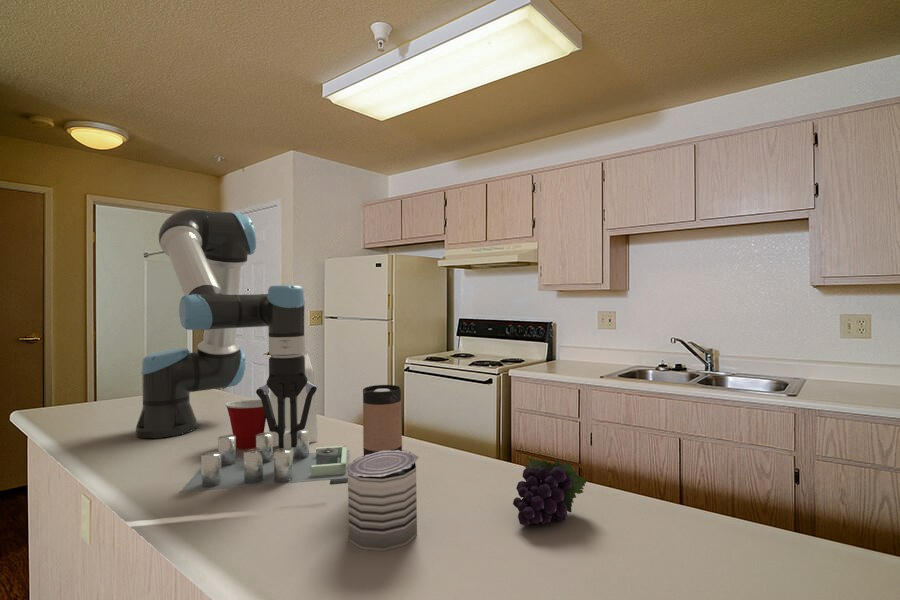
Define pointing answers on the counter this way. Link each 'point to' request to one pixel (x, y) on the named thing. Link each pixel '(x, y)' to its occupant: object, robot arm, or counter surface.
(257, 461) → the spacers
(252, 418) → the plastic cup
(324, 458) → the nut
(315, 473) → the parts pocket
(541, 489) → the fruit
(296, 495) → the counter surface
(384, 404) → the travel mug
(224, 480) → the board
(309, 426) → the milk
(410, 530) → the can
